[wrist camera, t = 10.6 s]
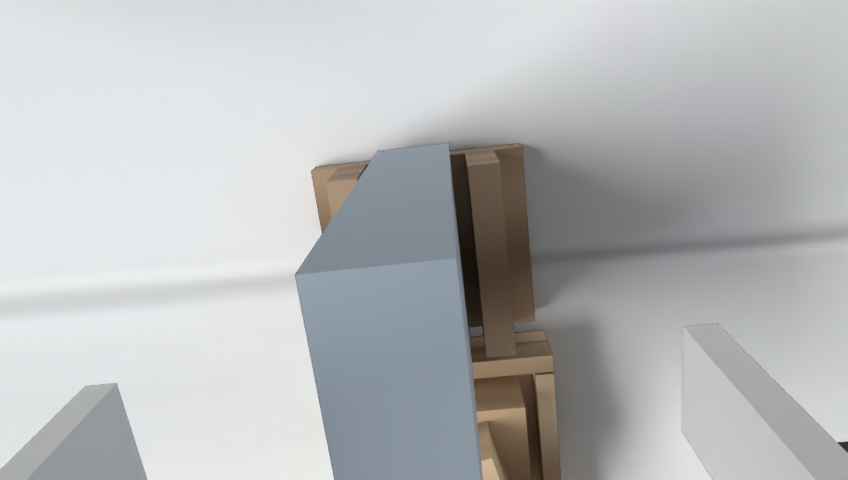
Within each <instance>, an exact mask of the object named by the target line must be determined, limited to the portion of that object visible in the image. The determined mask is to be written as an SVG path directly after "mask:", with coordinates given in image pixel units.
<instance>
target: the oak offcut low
mask: <svg viewBox="0 0 848 480" xmlns="http://www.w3.org/2000/svg"><path fill="white" fill-rule="evenodd" d="M474 390H475V401H476V411H477V422H478V423H480V422H484V421H488V424H489V427H490V429H491V432H492V435H493V438H494V441H495V443H496V446H497V449H498V452H499V455H500V458H501V460H502V463H503V466H504V469H505V472H506V474H507V477H508V480H531V472H530V460H529V447H528V435H527V423H526V411H525V404H524V400H523V396H522V391H521V387H520V383H519V378H518V375H511V376H500V377H489V378H478V379H474Z"/></svg>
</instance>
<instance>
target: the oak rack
mask: <svg viewBox="0 0 848 480" xmlns="http://www.w3.org/2000/svg"><path fill="white" fill-rule="evenodd" d="M514 337H515V349H516V355H508V356H498V357H487V355H486V349H485V342H484V336H479V337H470V347H471V358H472V369H473V379H478V378H489V377H500V376H511V375H518V378H519V383H520V387H521V391H522V396H523V400H524V404H525V411H526V423H527V435H528V447H529V460H530V472H531V480H561V475H560V459H559V444H558V428H557V413H556V397H555V382H554V366H553V355H552V352H551V349H550V346H549V344H548V341H547V338H546V335H545V333H544V330H542V331H532V332H521V333H514Z"/></svg>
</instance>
